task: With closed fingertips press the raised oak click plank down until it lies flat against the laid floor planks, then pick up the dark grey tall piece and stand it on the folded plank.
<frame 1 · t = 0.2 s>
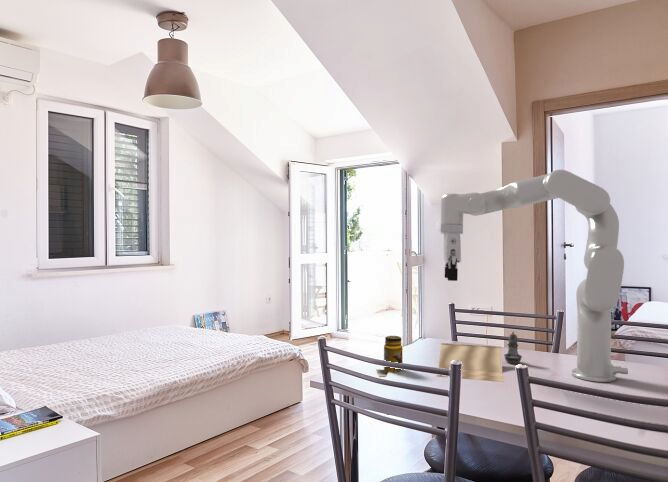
hand: (450, 279, 170), 30 cm above the table, tool pointing down, fingers open, 9 cm apart
dark grey tall piece: (512, 366, 170), on the table
click plank: (470, 358, 166), point 4 cm above the table, hinge at 30.0°
laid floor planks: (469, 378, 156), on the table
condiment: (390, 374, 161), on the table
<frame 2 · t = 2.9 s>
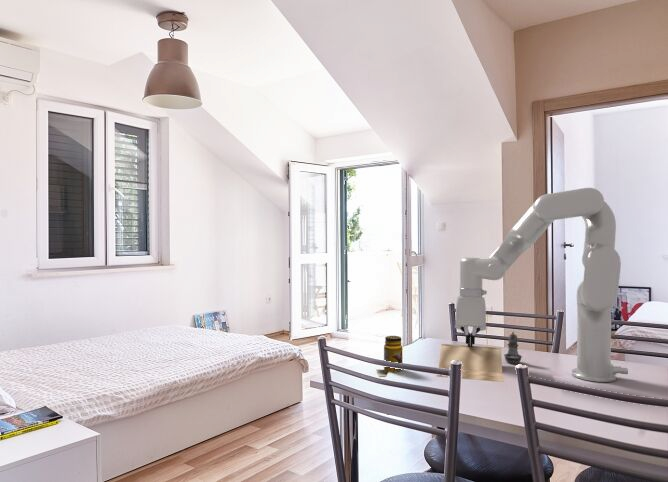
hand: (470, 346, 171), 7 cm above the table, tool pointing down, fingers closed
click plank: (470, 358, 166), point 4 cm above the table, hinge at 27.9°, touching gripper
everything else where it was.
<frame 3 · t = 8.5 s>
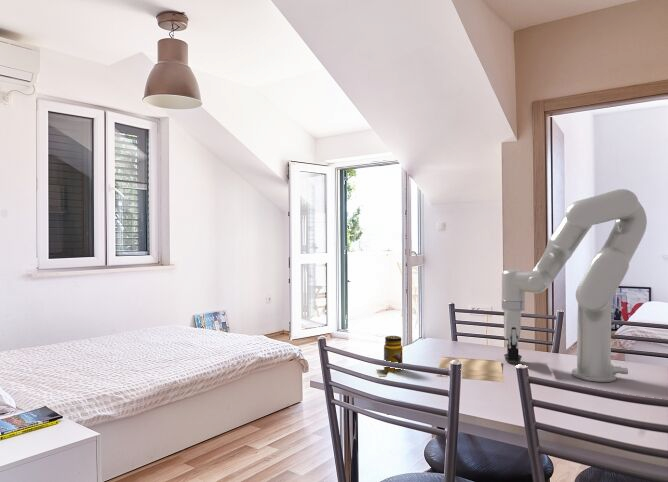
hand: (512, 357, 170), 3 cm above the table, tool pointing down, fingers closed on dark grey tall piece, 5 cm apart
dark grey tall piece: (512, 366, 170), on the table, touching gripper
click plank: (470, 365, 167), point 1 cm above the table, hinge at 3.7°
everything else where it was.
when the fingers open (5 cm above the table, at t = 13.5 s): dark grey tall piece stays where it is, resting on click plank.
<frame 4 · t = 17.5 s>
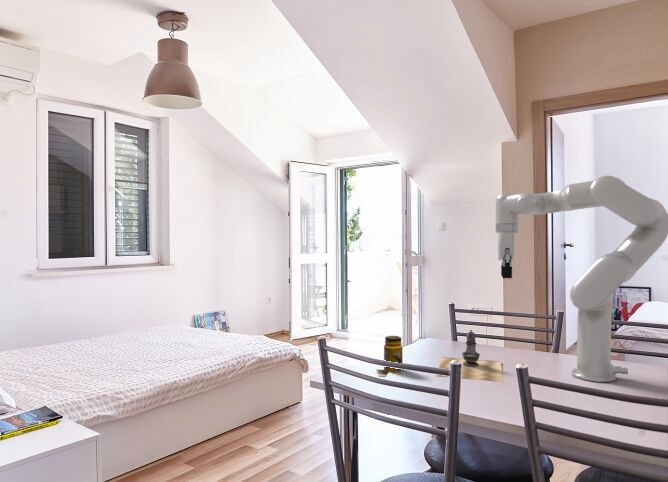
hand: (506, 277, 176), 30 cm above the table, tool pointing down, fingers open, 9 cm apart
dark grey tall piece: (470, 365, 167), point 1 cm above the table, touching click plank
click plank: (470, 366, 167), point 1 cm above the table, hinge at 3.0°, touching dark grey tall piece
everything else where it was.
at the end: click plank at +3° (first picture: +30°); dark grey tall piece inside the target area (0.2 cm from its centre), point 1.3 cm above the table; dark grey tall piece tilted 3° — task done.
